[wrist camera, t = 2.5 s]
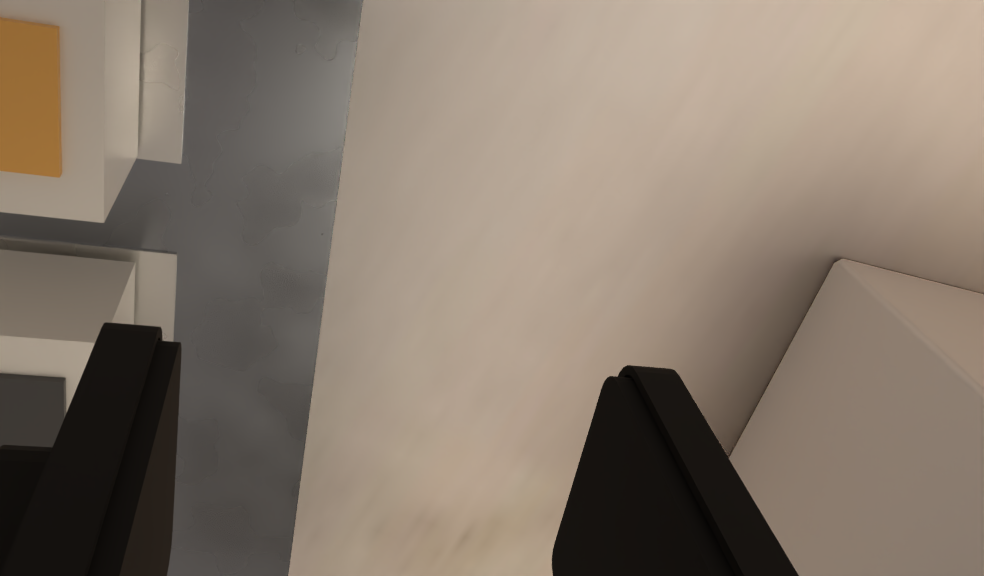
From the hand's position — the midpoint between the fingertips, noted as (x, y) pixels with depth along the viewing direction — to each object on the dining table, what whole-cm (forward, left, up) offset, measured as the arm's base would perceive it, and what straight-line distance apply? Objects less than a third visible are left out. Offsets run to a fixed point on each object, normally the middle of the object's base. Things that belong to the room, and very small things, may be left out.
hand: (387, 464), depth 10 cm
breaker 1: (+7, 0, -15) cm, 16 cm away
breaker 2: (+7, +8, -15) cm, 18 cm away
